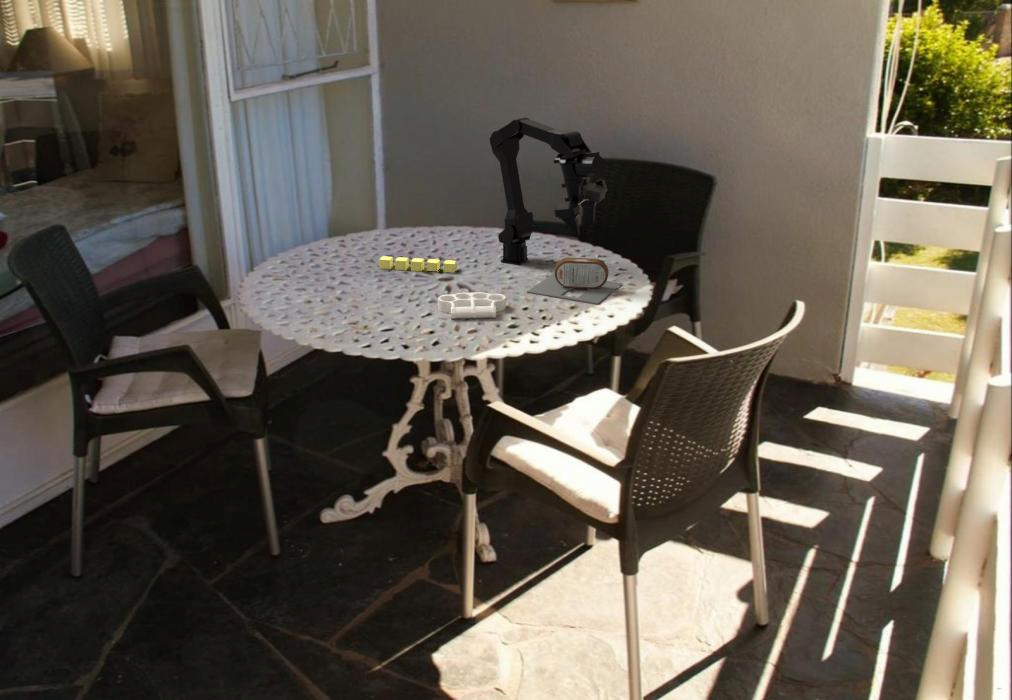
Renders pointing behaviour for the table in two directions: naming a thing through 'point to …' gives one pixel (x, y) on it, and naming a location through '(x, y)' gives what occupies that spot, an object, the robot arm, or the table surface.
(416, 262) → the yellow cube row
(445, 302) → the white brass knuckles
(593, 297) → the mat
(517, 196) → the robot arm
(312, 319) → the table surface
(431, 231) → the table surface
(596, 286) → the tin
